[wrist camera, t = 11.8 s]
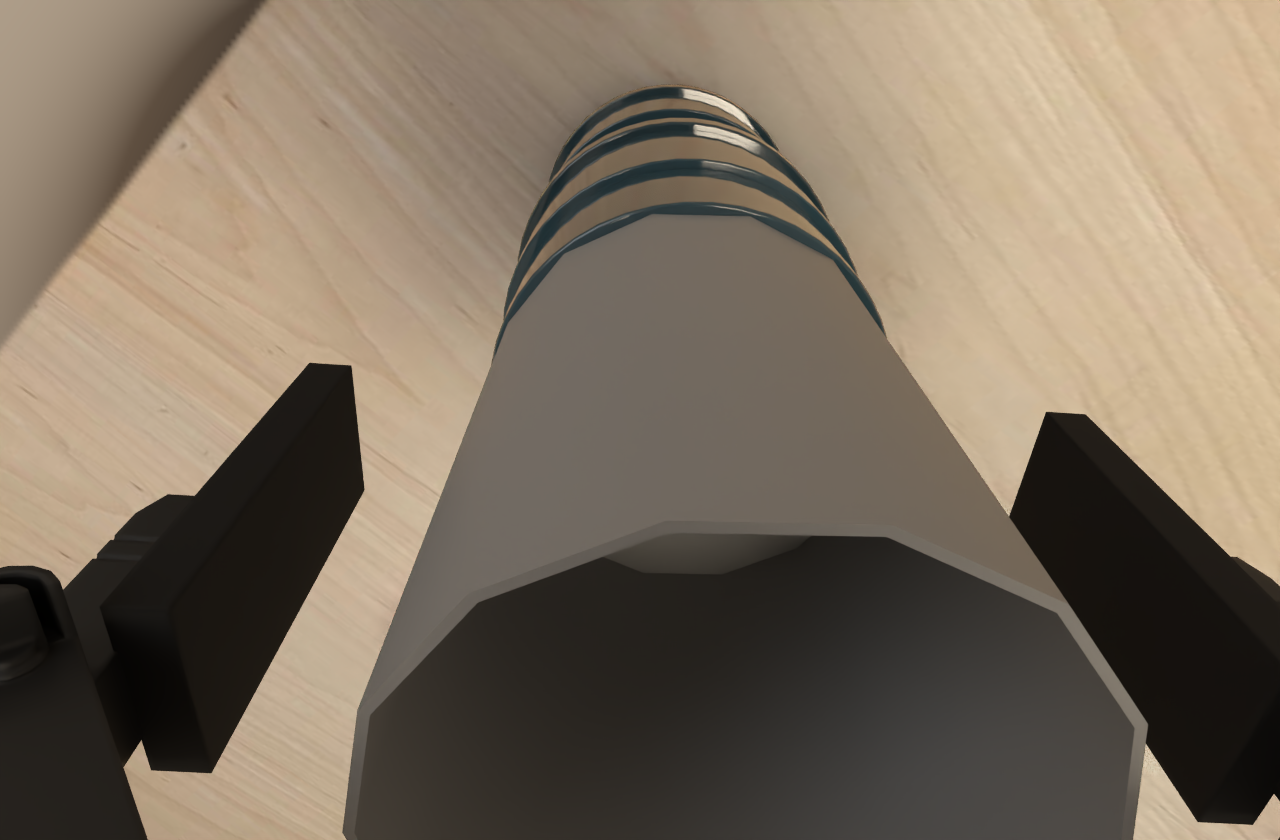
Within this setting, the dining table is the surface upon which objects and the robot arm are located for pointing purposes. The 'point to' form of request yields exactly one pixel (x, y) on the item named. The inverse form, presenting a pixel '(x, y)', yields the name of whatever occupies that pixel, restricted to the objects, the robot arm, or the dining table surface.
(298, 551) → the robot arm
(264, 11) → the dining table surface
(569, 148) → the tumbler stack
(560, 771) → the cup
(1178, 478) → the dining table surface
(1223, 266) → the dining table surface
